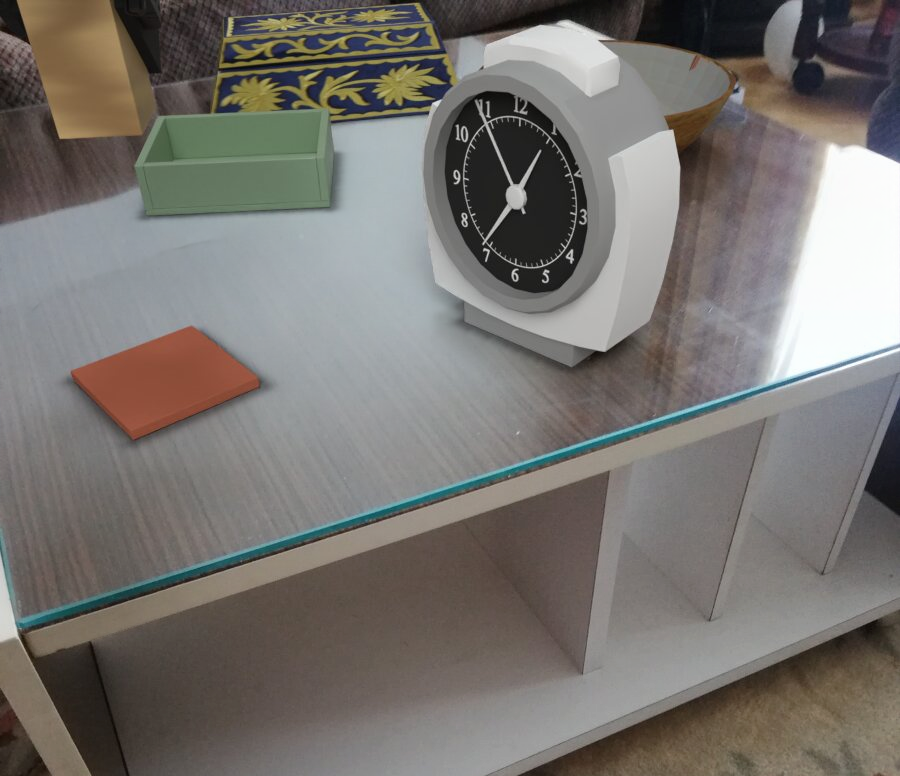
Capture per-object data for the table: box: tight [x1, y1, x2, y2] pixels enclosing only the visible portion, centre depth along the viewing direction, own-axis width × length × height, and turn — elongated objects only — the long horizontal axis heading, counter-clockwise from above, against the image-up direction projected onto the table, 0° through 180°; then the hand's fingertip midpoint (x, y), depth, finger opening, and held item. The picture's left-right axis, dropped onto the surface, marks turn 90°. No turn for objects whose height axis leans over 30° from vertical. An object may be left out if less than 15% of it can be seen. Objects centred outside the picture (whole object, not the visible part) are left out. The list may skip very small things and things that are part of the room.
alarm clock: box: [421, 24, 681, 368], centre depth 64 cm, size 18×8×20 cm, turn 48°
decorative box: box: [209, 1, 459, 123], centre depth 105 cm, size 11×30×9 cm, turn 101°
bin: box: [133, 109, 335, 216], centre depth 91 cm, size 18×14×5 cm
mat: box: [70, 324, 260, 441], centre depth 67 cm, size 10×10×1 cm
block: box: [17, 0, 157, 140], centre depth 53 cm, size 5×5×11 cm
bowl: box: [477, 39, 737, 155], centre depth 92 cm, size 25×25×8 cm
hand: (107, 53), depth 58 cm, fingers closed on block, 5 cm apart
